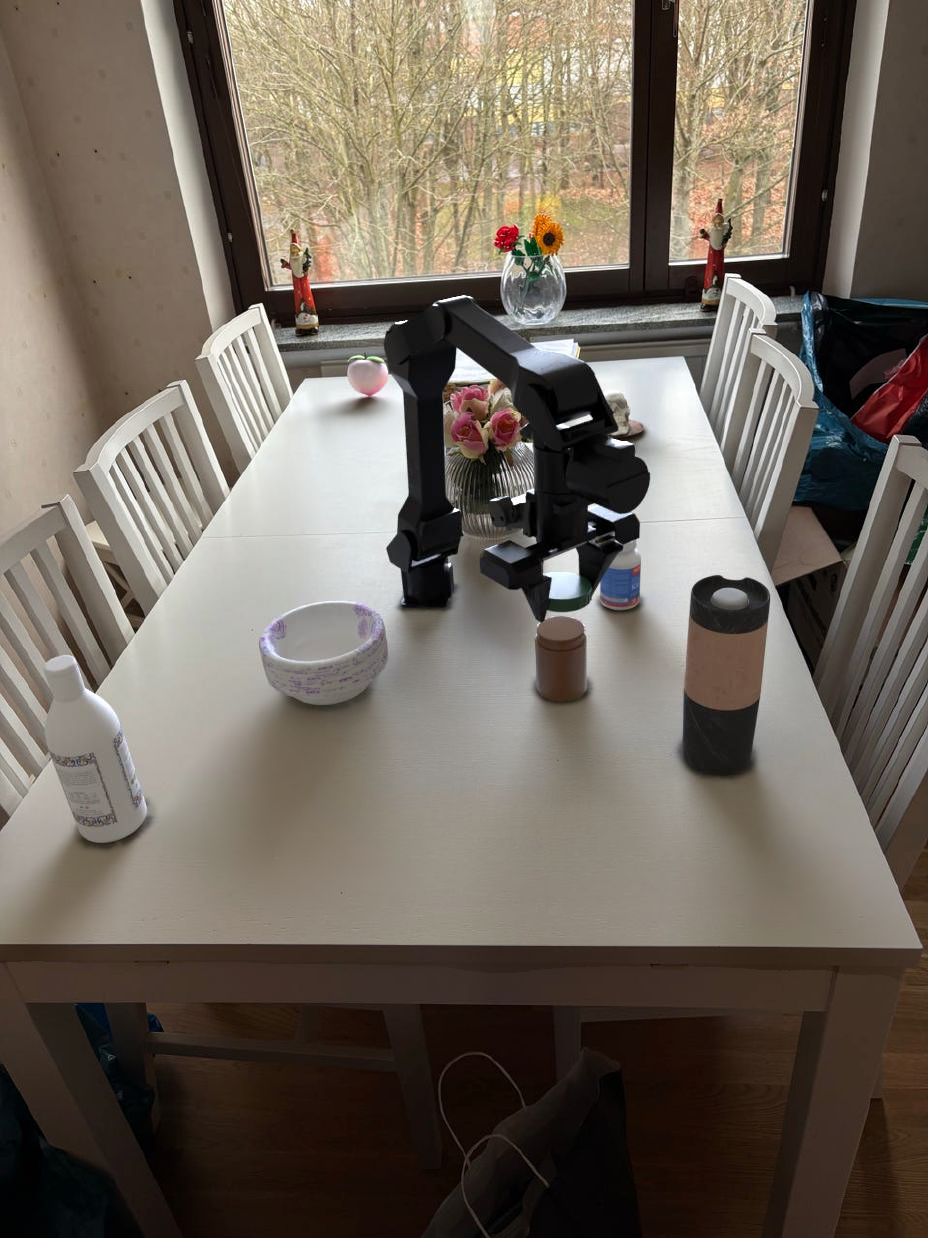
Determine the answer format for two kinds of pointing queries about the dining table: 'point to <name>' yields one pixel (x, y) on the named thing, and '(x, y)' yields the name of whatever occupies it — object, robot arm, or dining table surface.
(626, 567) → the pill bottle
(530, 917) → the dining table surface
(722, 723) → the travel mug
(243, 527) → the dining table surface
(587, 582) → the jar lid
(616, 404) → the skull
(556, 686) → the honey jar
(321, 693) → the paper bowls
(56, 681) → the bath foam
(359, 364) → the decorative fruit
